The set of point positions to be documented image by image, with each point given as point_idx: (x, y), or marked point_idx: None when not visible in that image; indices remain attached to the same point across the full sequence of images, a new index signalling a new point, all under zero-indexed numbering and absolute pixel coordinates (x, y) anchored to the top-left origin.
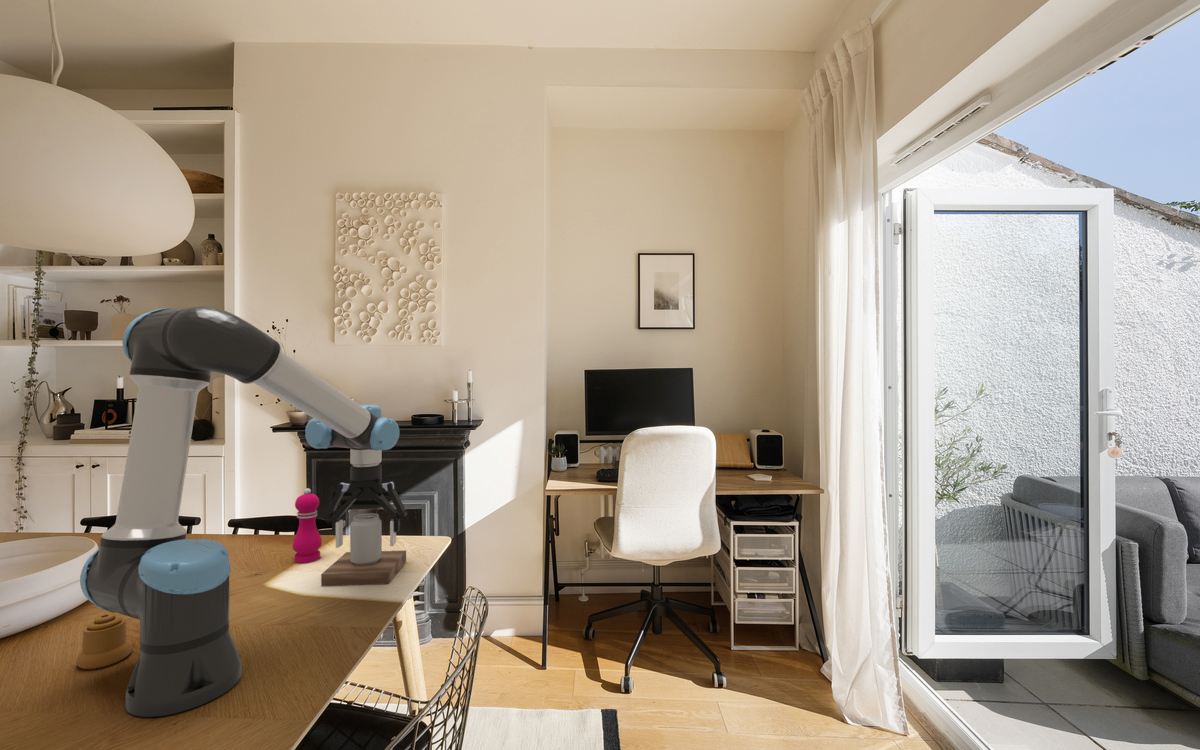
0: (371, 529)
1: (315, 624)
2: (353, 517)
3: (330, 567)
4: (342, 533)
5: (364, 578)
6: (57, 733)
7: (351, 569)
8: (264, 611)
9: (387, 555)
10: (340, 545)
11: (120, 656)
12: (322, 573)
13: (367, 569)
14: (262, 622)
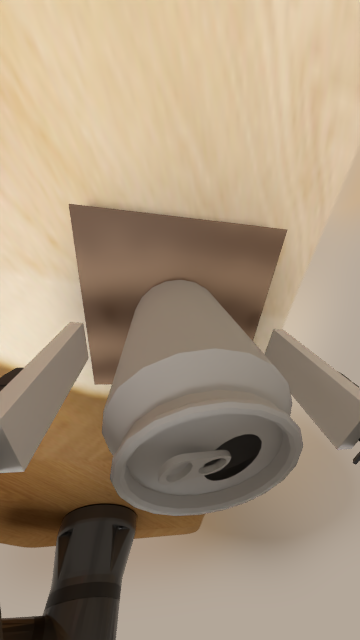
0: (230, 441)
1: None
2: (117, 490)
3: (94, 349)
4: (60, 354)
5: None
6: (53, 543)
7: None
8: (63, 436)
9: (229, 274)
10: (85, 345)
11: None
12: (95, 381)
13: None
14: (85, 456)
